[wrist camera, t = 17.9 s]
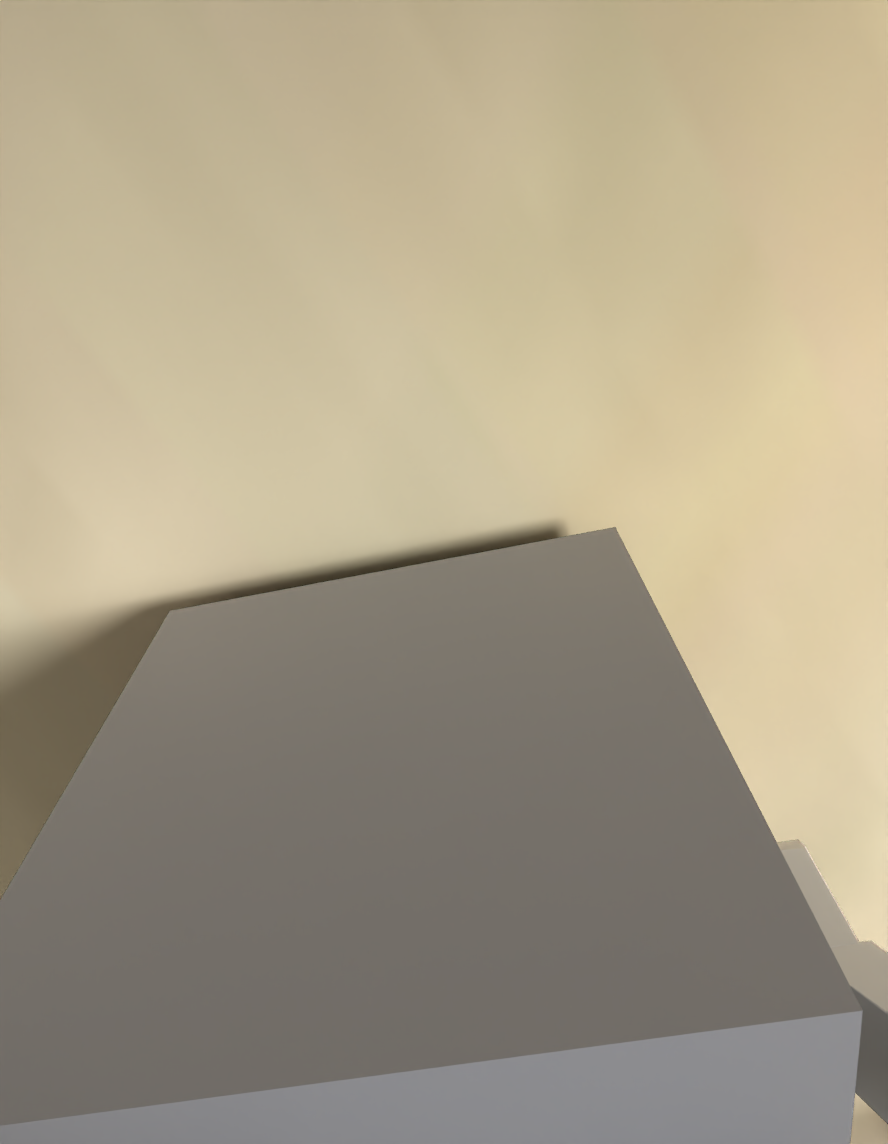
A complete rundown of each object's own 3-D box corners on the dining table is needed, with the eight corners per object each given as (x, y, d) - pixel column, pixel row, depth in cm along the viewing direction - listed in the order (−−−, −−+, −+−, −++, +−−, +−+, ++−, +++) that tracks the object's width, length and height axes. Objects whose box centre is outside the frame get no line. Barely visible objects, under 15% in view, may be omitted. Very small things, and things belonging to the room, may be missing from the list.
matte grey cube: (615, 527, 12) (863, 1010, 5) (649, 851, 15) (825, 1402, 9) (170, 610, 13) (-144, 1144, 6) (298, 905, 16) (199, 1460, 9)
